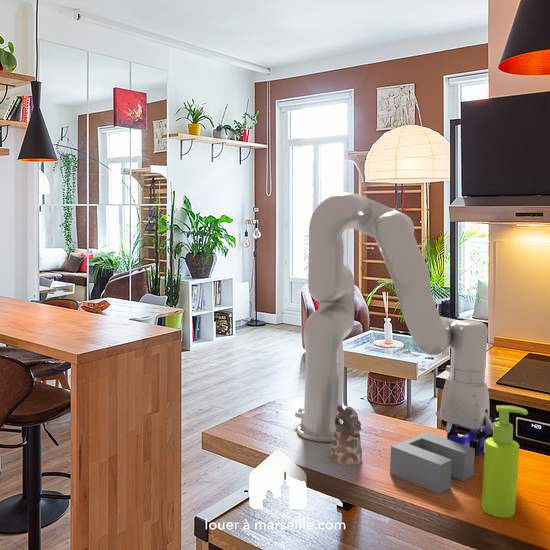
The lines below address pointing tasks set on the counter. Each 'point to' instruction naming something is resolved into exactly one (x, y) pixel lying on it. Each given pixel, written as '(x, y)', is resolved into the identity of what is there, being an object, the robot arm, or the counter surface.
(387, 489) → the counter surface
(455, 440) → the cable clip
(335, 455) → the figurine
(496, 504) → the soap dispenser
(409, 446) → the slotted block
